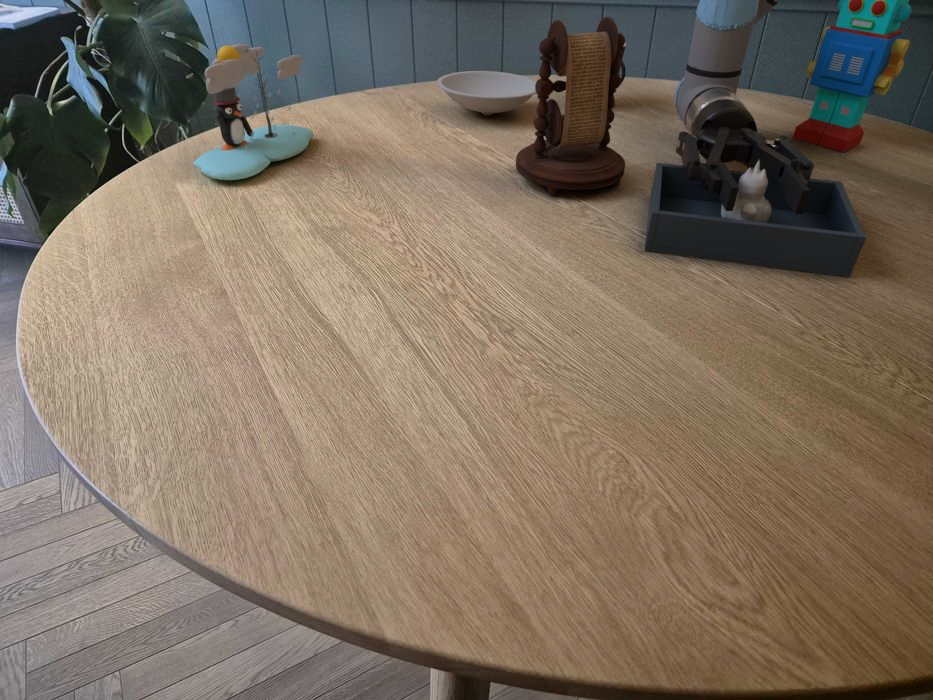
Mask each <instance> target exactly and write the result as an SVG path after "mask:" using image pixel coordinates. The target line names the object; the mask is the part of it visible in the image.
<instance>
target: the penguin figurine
mask: <svg viewBox="0 0 933 700" xmlns="http://www.w3.org/2000/svg"><path fill="white" fill-rule="evenodd" d="M264 54H265V50H264V47H262V46H255V47H249V45H248V44H247V43H237V44H233V45H223V46H222V47H220V48H219V49H218V51H217V55H216V56H217V57H216V58H215V59H214V60H213V61H212V62H211V65H210V66H208V67H206V68H205V70H204V77H205V82H206V83H205V88H206V92H207V93H208V94H211V95H214V100H213V104H214V106H213V107H212V108H213V110H214V111H216V112H215V113H216V115H215V119H216V120H215V122H214V123H215V126H217V125H219V130H220V134H221V138H222V140H223V142H224V144H223V146H219V147H216V148H213V149H211V150H208V151H206V152H204V153H203V154H202V155H200V156H199V157H197V158H196V159H195V160H194V161H193V163H192V165H193V166H195V167H196V168H198V169H199V170H201V172H202V173H203V174H204V175H205V176H206V177H209V178H211V179H214V180H220V181H221V180H223V181H237V180H238V181H239V180H244V179H248V178H251V177H253V176H255V175H258V174H259V173H261V172H262V171H264V170H265V169H266V168H267V167H268V166H269V165H270V164H271V162H279V161H283V160H288V159H290V158H292V157H295V156H297V155H299V154H300V153H302V152H303V151H305V150H306V149H307V148H308V146H309V142H310V140H311V139H312V138H313V137H314V131H313V130H312V129H311V128H307V127H304V126H299V125H292V124H275V122H274V121H275V120H276V118H275V116H271V117H270V114H271V113H270V109H269V108H268V103H267V99H269V98H270V99H272V96H273V94H272V92H270V91H268V88H266V85H267V84H266V83H267V82H269V80H268V79H265V80H264V81H263V77H262V75H263V73H261V69H262V68H261V62H260V58H265V56H264ZM302 64H303V58H302V57H301V55H299V54H293V55H289V56H288V57H284V58H282V59H280V60H278V61H277V64H276V68H277V69H279V70H278V71H277V78H278V79H279V80H280V81H283V80H285V79H288V78H290V77H295V76H297V75H299V74H300V73H301V66H302ZM270 70H271V71H272V68H270V69H267V70H266V72H267V71H270ZM262 71H263V72H265V71H264V70H262ZM257 74H259V81H260V84H261V85H258V83H257V82H256V81H257V80H256V78H254V79H253V80H254V82H255V83H256V84H255V85H258V88H260V89H261V90H262V92H261V95H262V100H263V105H264V114H265V118H266V122H267V125H264V126H260V127H256V128H254V129H252V127H251V125H250V123H249V121H248V119H247V117H246V116H245V115H244V114H242V113H241V111H242V109H243V105H242V104H240V103H239V101H240V99H241V97H242V92H241V91H237V92H236V87H238V86H240V84H241V82H243V81H244V78H246V77H252V76H254V75H257ZM265 89H267V90H266V91H265ZM267 91H268V93H267ZM281 93H282V92H281V90H280V89H277V90H276V94H278V96H281ZM266 94H267V95H266ZM252 99H253V101H254V102H256V104H255V107H256V109H258V110H260V108H261V105H260V104H261V103H260V102H259V103H258V101H257V100H259V99H258V97H257V96H256V94H254V97H252ZM287 105H288V106H287V112H288V111H289V112H290V111H291V110H292V108H291V107H292V105H290V104H287ZM258 114H259V113H258V112H257V110H254V112H253V114H251V116H250V120H254V118H255V117H257V115H258ZM272 123H273V124H272Z"/></svg>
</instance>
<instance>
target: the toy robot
mask: <svg viewBox="0 0 933 700" xmlns="http://www.w3.org/2000/svg"><path fill="white" fill-rule="evenodd" d="M909 2H910V0H839V1H838V3H837V12H839V13H838V17H837V19H836V23H835V24H834V25H831V26H829V25H827V26H826V27H825V28H823V31H822V32H821V36H820V41H821V42H822V43H821V46H820V49H819V51H818V53H817V56H816V58H815V60H812V61H811V62H809V63H808V66H807V68H806V72H808V73H807V76H806V78H807V79H810V82H809V85H811V86H815V87H818V90H817V93H816V96H815V99H814V102H813V105H812V108H811V110H810V114H809V117H808V119H806V120H804V121H803V122H801V123H799V124H798V125H796V126H795V129H794V132H793V135H792V138H793V139H794V140H795V139H796V140H799V141H803V142H806V143H810V144H812V145H817V146H820V147H823V148H827V149H831V150H834V151H837V152H842V153H845V152H847V151H849V150H851V149H853V148H855V147H856V146H858V145H860V144H861V142H862V140H863V137H864V134H865V131H864V130H863V128H862V126H861V122H862V120H863V116H864V113H865V111H866V109H867V105H868V104H869V103H868V102H869V100H870V98H871V96H873V95H875V94H878V95H882V96H885V95H886V94H887V93H888V91H889V90H890V87H891V85H892V82H893V80H894V78H895V77H898V76H899V75H900V73H901V72H902V70H903V68H904V65H905V61H904V59H905V55H906V53H907V52H908V49H909V47H910V44H911V42H910V40H909V39H904V36H905V34H904V33H903V30H901V29H900V26H901V23H904V22H906V21H907V20H908V19H909V17H910V16H911V15H912V7H911V5H910V4H909Z"/></svg>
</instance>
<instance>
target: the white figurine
mask: <svg viewBox="0 0 933 700" xmlns="http://www.w3.org/2000/svg"><path fill="white" fill-rule="evenodd" d="M744 172H745V173H744V174H743V175H742V176H741V177H740V179H739V183H738V187H739V190H738V193H737V197H736V201H735V204H734V208H733V211H725V209H724V207H723V205H722V207H721V216H722V218H729V219H737V220H746V221H755V222H763V223H766V222H767V221H768V220H769V218H770V215H771V213H772V209H771V204H770V202H769V201H768V200H766V199H765V197H764V194H765V191H766V188H767V185H768V180H767V176H766V171H765V169H763V170H762V171H760V161H759V160H758V162H757V164H756V166H755V168H753V169H752V168H748V169H747V170H746V171H744Z"/></svg>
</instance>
